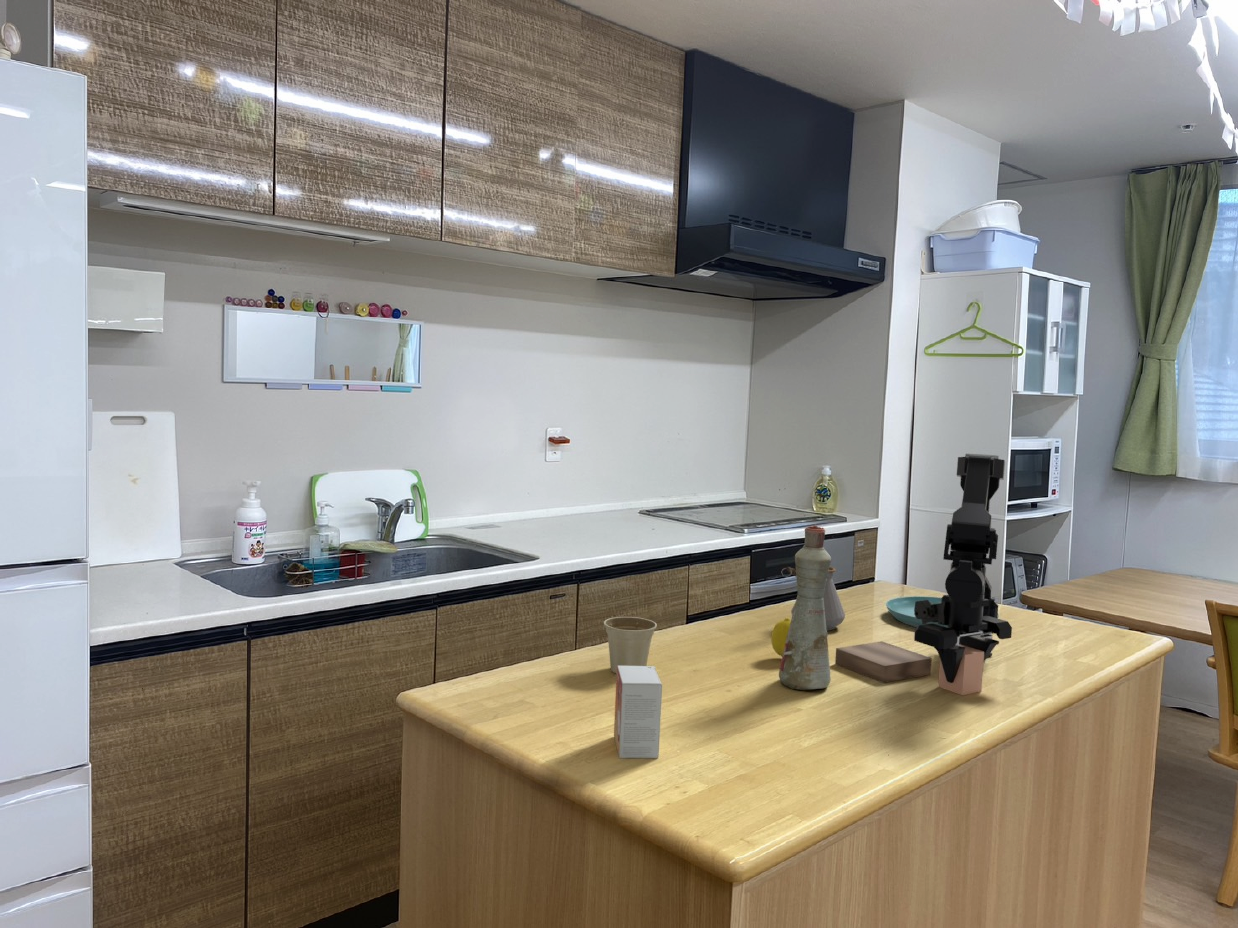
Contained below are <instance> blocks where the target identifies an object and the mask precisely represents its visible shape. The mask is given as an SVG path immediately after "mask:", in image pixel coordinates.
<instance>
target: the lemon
mask: <svg viewBox="0 0 1238 928" xmlns="http://www.w3.org/2000/svg"><path fill="white" fill-rule="evenodd" d="M790 623H791V619H790V618H789V617H785V618H784V619H783V620H779V621H778V622H777V623H776V624H775V625H774V627H773V628H772V632H771V645H772V649H773V650H774V652H775V653H776V654H777V655H778V656H780V657H781V658H782V656H783V651H784V647H785V643H786V639H787V635H788V631H789V627H790Z"/></svg>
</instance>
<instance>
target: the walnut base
mask: <svg viewBox="0 0 1238 928" xmlns="http://www.w3.org/2000/svg"><path fill="white" fill-rule="evenodd" d="M932 660H933V658H932V657H929V656H926V655H923V654H921V653H918V652H914V651H911V650H908V649H907V648H902V647H899V646H897V645H894V644H891V643H888V642H885V641H883V640H882V641H875V642H868V643H862V644H855V645H848V646H842V647H841V646H840V647H836V648H835V661H834V663H835V665H837V666H839V667H842V668H845V669H848V670H850V671H852V672H856V673H858V674H860V675H862V676H866V677H868V678H870V679H872V680H873V679H874V680H876V681H878V682H880V683H889V682H896V681H900V680H901V681H903V680H906V679H911V678H912V679H913V678H917V677H922V676H928V675H931V672H932Z"/></svg>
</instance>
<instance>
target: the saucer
mask: <svg viewBox="0 0 1238 928" xmlns="http://www.w3.org/2000/svg"><path fill="white" fill-rule="evenodd" d="M922 600H929V602H930V603H931V605H932V604H939V603H941V600H942V597H937V596H922V595H921V596H917V595H916V596H915V595H914V596H903V597H902V596H901V597H896V598H891V599H889V600H887V602H886V603H885V606H886V608H887V610H888V612H889V613H890V614H891V616H892V617H894V618H895V619H896V620H897V621H899V622H900V623H902V624H904V625H908V626H910V627H915V628H917V627H918V626H919V625H925V624H922V621H921V619H917V618H916V617H915V615H914V608H915V602H916V601H922ZM999 617H1000V615H999V613H998V618H999ZM932 623H933V622H927V624H932ZM933 624H937V625H940V624H938V622H935V623H933ZM940 626H943V627H948V626H946V625H940Z"/></svg>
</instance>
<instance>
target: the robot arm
mask: <svg viewBox="0 0 1238 928" xmlns="http://www.w3.org/2000/svg"><path fill="white" fill-rule="evenodd" d="M1005 465H1006V461H1005V459H1000V458H999V455H996V454H979V453H978V454H977V453H965V455H964V456H958V457H957V466H956V477H959V478H960V482H959V484H960V487H961V490H962V492H963V495H962V500H961V501H962V502H961V506H960V507H959V508H957V509H956V510H955V511H954V512H953V514H952V518H951V524H950V523H948V524H947V526H946V533H945V543H944V551H943V559H942V560H943V561H944V560H946V561H952V562H950V567H949V568H950V569H949V572H948V574H947V577H946V579H945V583H944V586H945V587H944V588H945V591H946V593H947V594H942V597H941V598H942V600H941V603H939V604H932V605H931V603H930V602H929V600H922V601H916V602H915V608H914V615H915V617H916V618H917V619H921V621H922V624H925V625H919V626H918V627H915V628H914V635H913V639H914V640H913V641H914V642H916V643H920V644H923V645H925V646H926V645H927V646H929V647H932V648H934V649H935V650H936V652H937V654H938V656H939V659H941V663H942V666H943V669H944V673H945V676H946V680H947V682H950V683H953V682H954V680H955V677H956V675H957V672H958V668H959V665H960V662H961V659H962V656H963V653H964V650H965V647H962V646H959V644H961V645H964V646H968V647H971V648H974V649H977V650H980V651H984V663H985V662H986V660H987V659H988V657H992V656H993V650H994V649H995V647H996V646H997V645H999V644H1000V640H1005V639H1006V640H1008V639H1011V638H1012V633H1013V627H1012V625H1011V624H1010V623H1009V621H1008V620H1004V619H1001V618H999V617H998V614H999V605H998V603H997V602H996V597H994V596H993V597H992V593H993V592H992V591H993V587H992V585H991V583H990V581H989V580H988V577H987V574H986V573H987V566H986V565H993V560H997V556H998V555H997V554H998V545H999V543H998V542H999V535H998V534H997V530H996V528H994V527H992V514H991V513H990V503H991V499H992V498H993V496H994V495H995V494H996V493H997V491H998V490H999V488H1000V484H1001V483H1000V481H1003V480H1004V479H1005ZM949 550H950V551H949ZM987 555H988V557H987ZM927 622H933V623H935V622H938V624H940V625H946V626H948V627H943V626H940V625H937V624H933V623H932V624H927ZM993 634H995V635H996V637H997V638H998V639H999V640H997V639H993V637H994V636H993Z"/></svg>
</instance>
